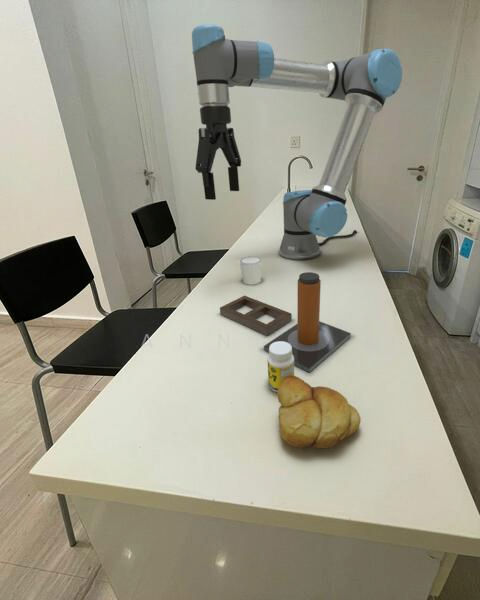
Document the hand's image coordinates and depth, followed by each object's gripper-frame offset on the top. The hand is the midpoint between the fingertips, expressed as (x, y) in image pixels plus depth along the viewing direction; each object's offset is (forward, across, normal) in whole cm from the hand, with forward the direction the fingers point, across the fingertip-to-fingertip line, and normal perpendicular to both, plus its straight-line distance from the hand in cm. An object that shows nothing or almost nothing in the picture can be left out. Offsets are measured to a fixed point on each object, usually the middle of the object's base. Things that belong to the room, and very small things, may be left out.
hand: (223, 195), depth 91 cm
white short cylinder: (+27, -3, +6) cm, 28 cm away
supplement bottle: (+27, +39, +31) cm, 56 cm away
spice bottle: (+26, +24, +32) cm, 47 cm away
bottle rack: (+27, +17, +16) cm, 36 cm away
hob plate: (+27, +24, +32) cm, 48 cm away
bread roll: (+27, +47, +40) cm, 67 cm away
